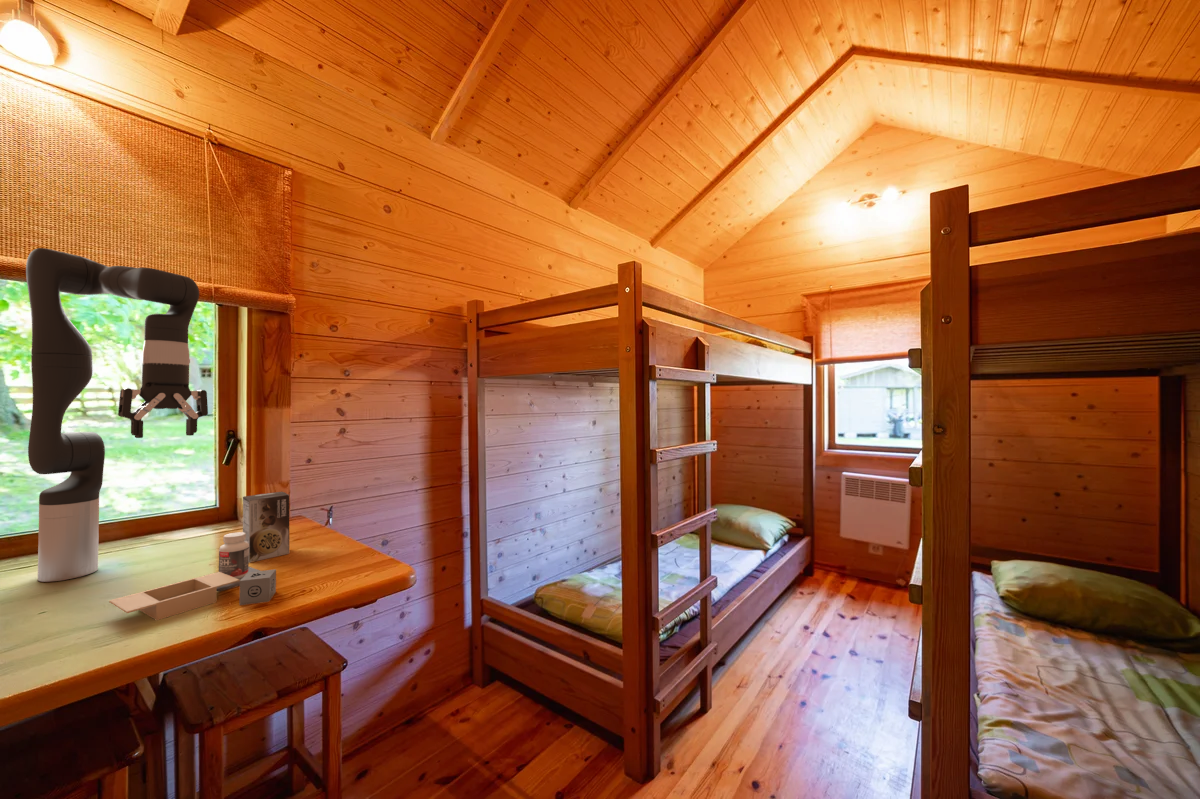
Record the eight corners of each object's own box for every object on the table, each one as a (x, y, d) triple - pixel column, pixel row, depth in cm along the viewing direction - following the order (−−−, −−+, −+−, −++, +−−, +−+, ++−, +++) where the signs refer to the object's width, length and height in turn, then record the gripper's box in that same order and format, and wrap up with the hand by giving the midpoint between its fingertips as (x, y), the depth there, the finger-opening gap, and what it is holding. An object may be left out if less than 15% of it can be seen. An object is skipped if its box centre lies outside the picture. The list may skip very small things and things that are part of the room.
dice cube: (247, 595, 97) (247, 572, 97) (275, 592, 99) (276, 569, 99) (239, 605, 92) (239, 580, 92) (269, 601, 94) (269, 577, 94)
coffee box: (282, 549, 127) (282, 490, 127) (290, 554, 123) (290, 494, 123) (241, 557, 120) (242, 495, 120) (248, 563, 116) (249, 499, 116)
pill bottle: (214, 583, 102) (216, 538, 102) (222, 574, 107) (223, 532, 107) (244, 579, 104) (246, 536, 104) (251, 571, 109) (252, 530, 109)
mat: (197, 582, 103) (197, 580, 103) (248, 568, 112) (248, 566, 112) (217, 591, 98) (217, 589, 98) (269, 576, 107) (269, 574, 107)
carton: (108, 617, 87) (108, 600, 87) (219, 586, 102) (219, 571, 102) (126, 629, 82) (126, 611, 82) (239, 594, 97) (239, 579, 97)
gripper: (199, 365, 109) (198, 434, 109) (114, 360, 96) (113, 437, 96) (213, 364, 105) (212, 435, 105) (127, 359, 93) (126, 439, 93)
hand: (165, 436), depth 101 cm, fingers open, 8 cm apart
